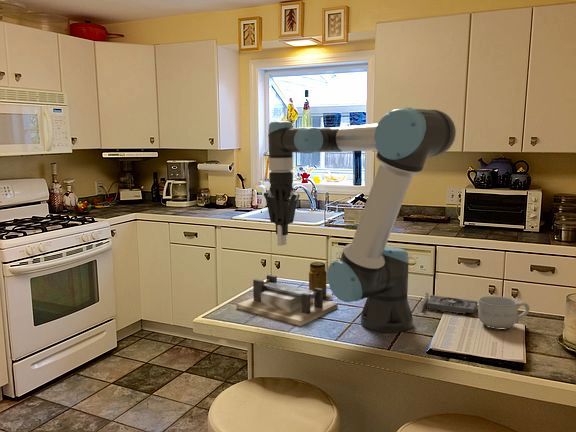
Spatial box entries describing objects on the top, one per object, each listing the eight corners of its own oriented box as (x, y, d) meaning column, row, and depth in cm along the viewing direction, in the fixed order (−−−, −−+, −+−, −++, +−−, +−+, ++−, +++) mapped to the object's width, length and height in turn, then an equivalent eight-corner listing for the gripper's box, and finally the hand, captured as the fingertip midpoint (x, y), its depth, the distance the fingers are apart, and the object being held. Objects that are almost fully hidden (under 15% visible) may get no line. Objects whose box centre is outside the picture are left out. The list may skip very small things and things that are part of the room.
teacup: (476, 330, 146) (478, 303, 145) (476, 317, 156) (478, 292, 155) (530, 336, 141) (532, 308, 140) (526, 323, 151) (528, 297, 150)
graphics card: (418, 302, 161) (425, 291, 172) (417, 313, 162) (425, 302, 172) (474, 310, 154) (478, 298, 164) (473, 322, 155) (477, 309, 165)
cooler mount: (337, 307, 165) (337, 282, 164) (301, 326, 150) (300, 298, 148) (275, 293, 181) (275, 270, 180) (236, 308, 166) (236, 283, 164)
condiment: (307, 294, 180) (308, 260, 179) (331, 294, 180) (332, 261, 178) (307, 300, 173) (307, 266, 171) (332, 300, 173) (333, 266, 171)
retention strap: (318, 296, 160) (318, 290, 160) (309, 300, 156) (309, 294, 156) (268, 283, 173) (268, 278, 172) (258, 287, 169) (258, 282, 168)
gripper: (304, 171, 160) (305, 245, 163) (272, 170, 168) (273, 240, 171) (290, 172, 154) (291, 249, 157) (257, 171, 162) (259, 244, 165)
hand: (282, 244), depth 164 cm, fingers closed
